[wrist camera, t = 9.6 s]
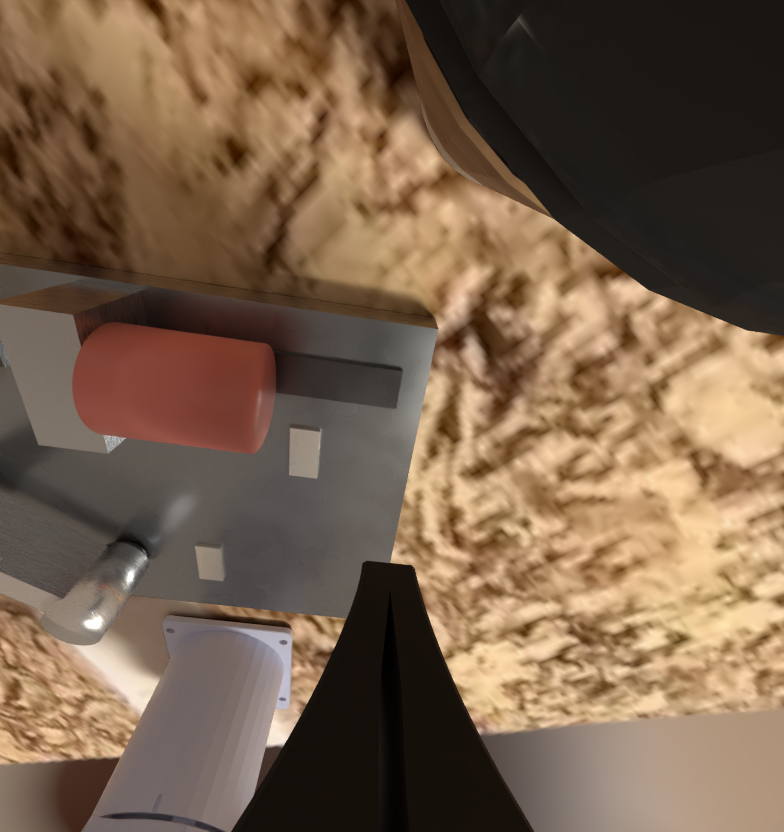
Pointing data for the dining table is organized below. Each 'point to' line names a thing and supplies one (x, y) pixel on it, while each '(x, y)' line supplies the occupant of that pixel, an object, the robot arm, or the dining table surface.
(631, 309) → the dining table surface
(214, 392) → the red short cylinder
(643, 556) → the dining table surface
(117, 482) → the panel
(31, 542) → the lever
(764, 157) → the coffee cup
